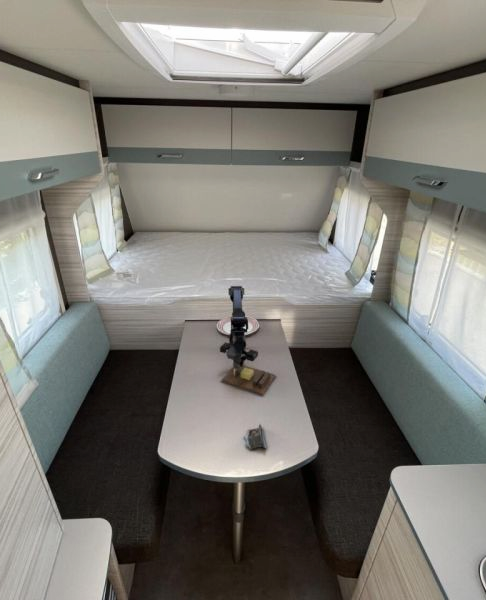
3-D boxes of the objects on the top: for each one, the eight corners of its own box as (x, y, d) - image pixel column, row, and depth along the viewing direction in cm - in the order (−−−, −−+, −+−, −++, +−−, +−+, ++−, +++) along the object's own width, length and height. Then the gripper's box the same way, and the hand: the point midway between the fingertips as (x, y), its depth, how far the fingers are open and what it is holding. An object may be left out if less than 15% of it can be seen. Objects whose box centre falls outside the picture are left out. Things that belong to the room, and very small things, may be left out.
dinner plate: (219, 341, 198) (218, 336, 197) (215, 320, 223) (215, 316, 221) (263, 337, 202) (263, 332, 201) (254, 318, 227) (254, 313, 225)
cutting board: (221, 381, 162) (221, 375, 160) (237, 365, 175) (237, 358, 173) (262, 395, 153) (262, 388, 151) (275, 377, 166) (275, 370, 164)
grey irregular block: (244, 427, 135) (240, 428, 124) (260, 423, 135) (258, 423, 124) (250, 452, 131) (247, 454, 120) (267, 447, 131) (265, 449, 120)
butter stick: (240, 377, 163) (240, 372, 162) (244, 372, 167) (244, 367, 165) (249, 380, 161) (249, 375, 159) (253, 375, 164) (253, 370, 163)
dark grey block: (232, 376, 163) (232, 363, 160) (239, 368, 170) (239, 355, 166) (237, 378, 162) (237, 365, 159) (245, 369, 168) (245, 356, 165)
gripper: (213, 341, 155) (214, 369, 161) (248, 351, 147) (248, 380, 153) (225, 331, 164) (225, 357, 170) (258, 340, 156) (258, 367, 162)
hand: (238, 365), depth 164 cm, fingers closed on dark grey block, 3 cm apart
